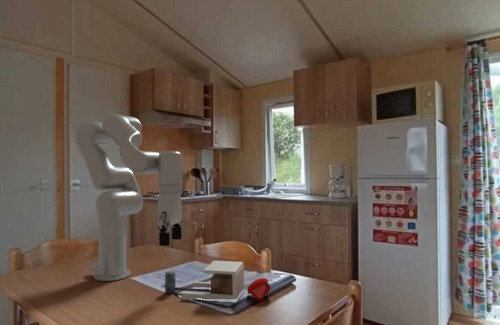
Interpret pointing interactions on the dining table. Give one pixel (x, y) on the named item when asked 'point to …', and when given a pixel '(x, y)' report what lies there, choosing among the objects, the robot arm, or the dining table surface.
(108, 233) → the robot arm
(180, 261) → the dining table surface
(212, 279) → the knobbed lever joystick
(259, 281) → the cap
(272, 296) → the dining table surface
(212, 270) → the lever switch box
